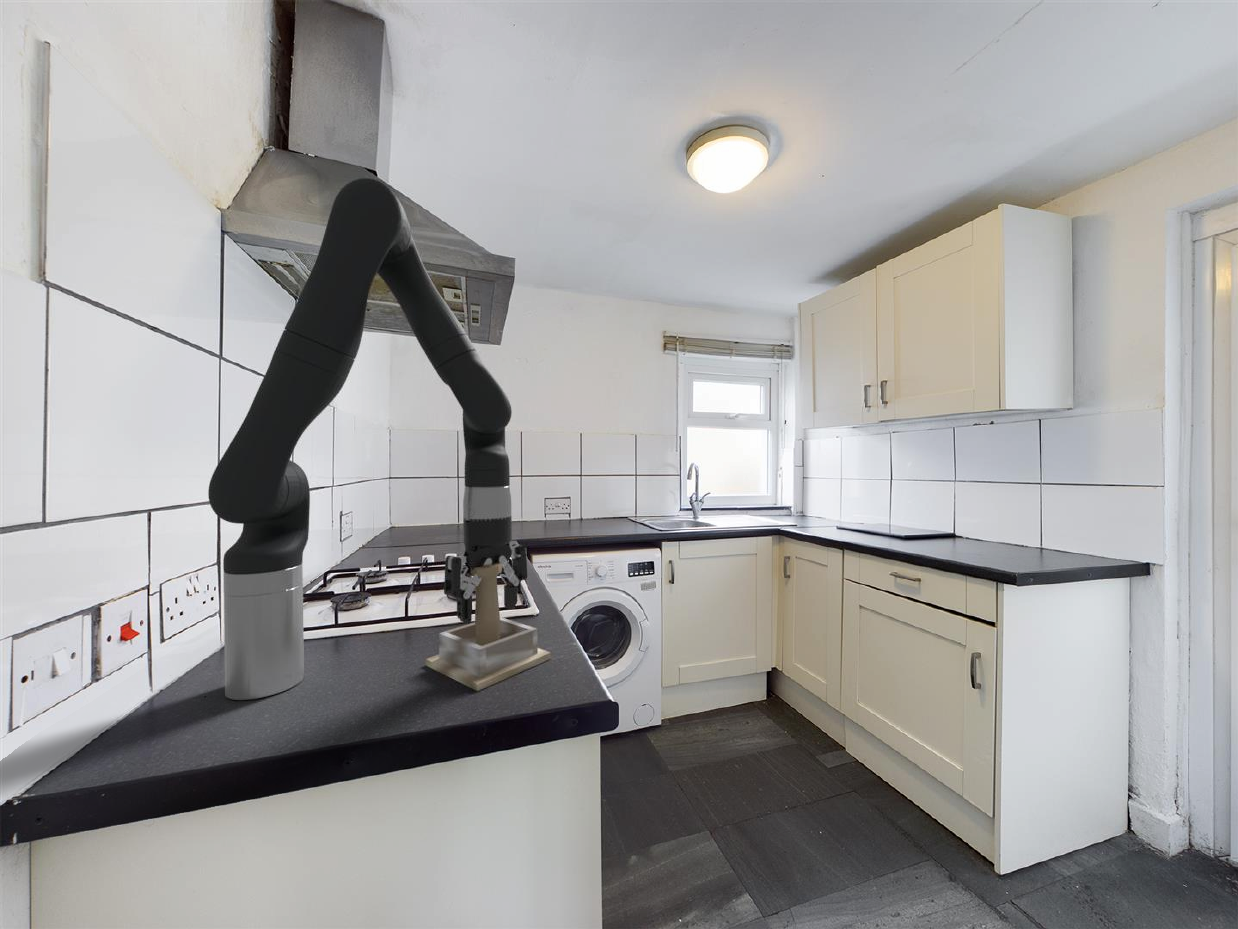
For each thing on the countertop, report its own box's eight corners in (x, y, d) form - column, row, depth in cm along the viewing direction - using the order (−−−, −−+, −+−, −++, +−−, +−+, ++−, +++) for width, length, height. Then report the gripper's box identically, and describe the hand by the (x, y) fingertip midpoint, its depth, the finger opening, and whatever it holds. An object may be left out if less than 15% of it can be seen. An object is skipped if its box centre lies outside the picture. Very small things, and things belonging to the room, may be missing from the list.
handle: (501, 645, 80) (498, 557, 80) (506, 661, 74) (504, 566, 74) (471, 650, 79) (468, 560, 78) (474, 666, 73) (471, 569, 72)
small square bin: (425, 665, 76) (425, 634, 76) (498, 639, 87) (497, 612, 87) (477, 691, 67) (477, 655, 67) (550, 658, 78) (550, 628, 78)
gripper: (508, 509, 85) (509, 600, 85) (434, 517, 73) (435, 621, 73) (536, 512, 80) (537, 608, 80) (461, 520, 69) (462, 632, 69)
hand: (488, 614), depth 77 cm, fingers open, 8 cm apart
